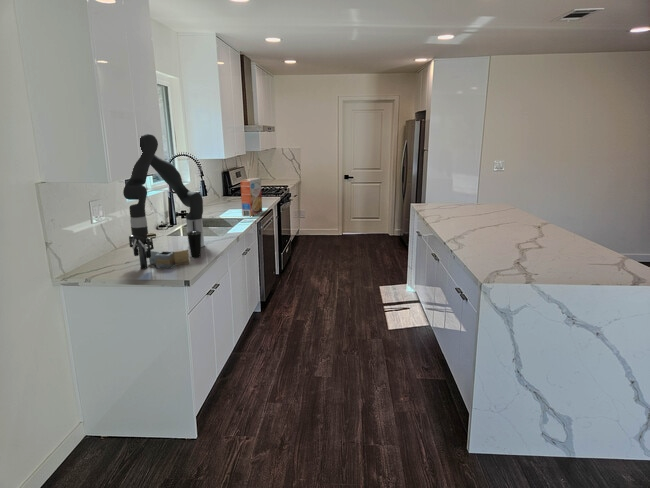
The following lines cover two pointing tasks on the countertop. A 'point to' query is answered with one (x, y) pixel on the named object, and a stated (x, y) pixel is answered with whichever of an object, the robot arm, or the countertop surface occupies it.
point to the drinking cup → (195, 242)
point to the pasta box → (251, 196)
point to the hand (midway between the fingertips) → (142, 256)
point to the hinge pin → (142, 256)
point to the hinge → (168, 258)
